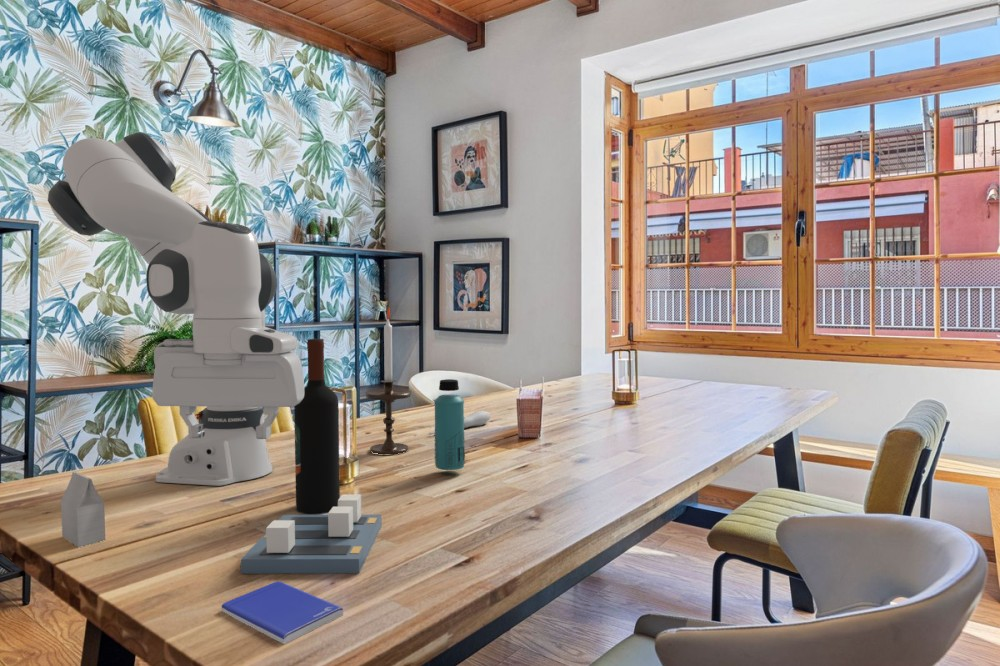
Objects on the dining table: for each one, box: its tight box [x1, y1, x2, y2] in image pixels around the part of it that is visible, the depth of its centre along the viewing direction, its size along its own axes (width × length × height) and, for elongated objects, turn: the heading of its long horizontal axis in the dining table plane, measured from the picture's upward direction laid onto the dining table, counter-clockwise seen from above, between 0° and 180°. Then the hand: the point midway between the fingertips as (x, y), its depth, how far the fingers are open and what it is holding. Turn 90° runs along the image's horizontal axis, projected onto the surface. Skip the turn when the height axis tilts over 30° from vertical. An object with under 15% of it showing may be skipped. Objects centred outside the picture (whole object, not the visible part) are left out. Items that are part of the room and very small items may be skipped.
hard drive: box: [221, 581, 344, 645], centre depth 78 cm, size 2×8×12 cm
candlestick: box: [365, 306, 412, 455], centre depth 158 cm, size 11×11×35 cm
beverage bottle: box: [433, 378, 466, 471], centre depth 139 cm, size 6×7×20 cm
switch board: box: [240, 514, 383, 575], centre depth 98 cm, size 16×18×2 cm
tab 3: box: [327, 507, 353, 537], centre depth 98 cm, size 3×3×4 cm
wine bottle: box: [293, 338, 341, 515], centre depth 116 cm, size 8×8×30 cm
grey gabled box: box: [60, 471, 106, 548], centre depth 101 cm, size 4×7×10 cm, turn 51°
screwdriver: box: [428, 410, 491, 435], centre depth 184 cm, size 5×25×4 cm, turn 141°
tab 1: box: [265, 519, 295, 553], centre depth 92 cm, size 3×3×4 cm
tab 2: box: [338, 493, 362, 522], centre depth 104 cm, size 3×3×4 cm
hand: (230, 437), depth 92 cm, fingers open, 8 cm apart
